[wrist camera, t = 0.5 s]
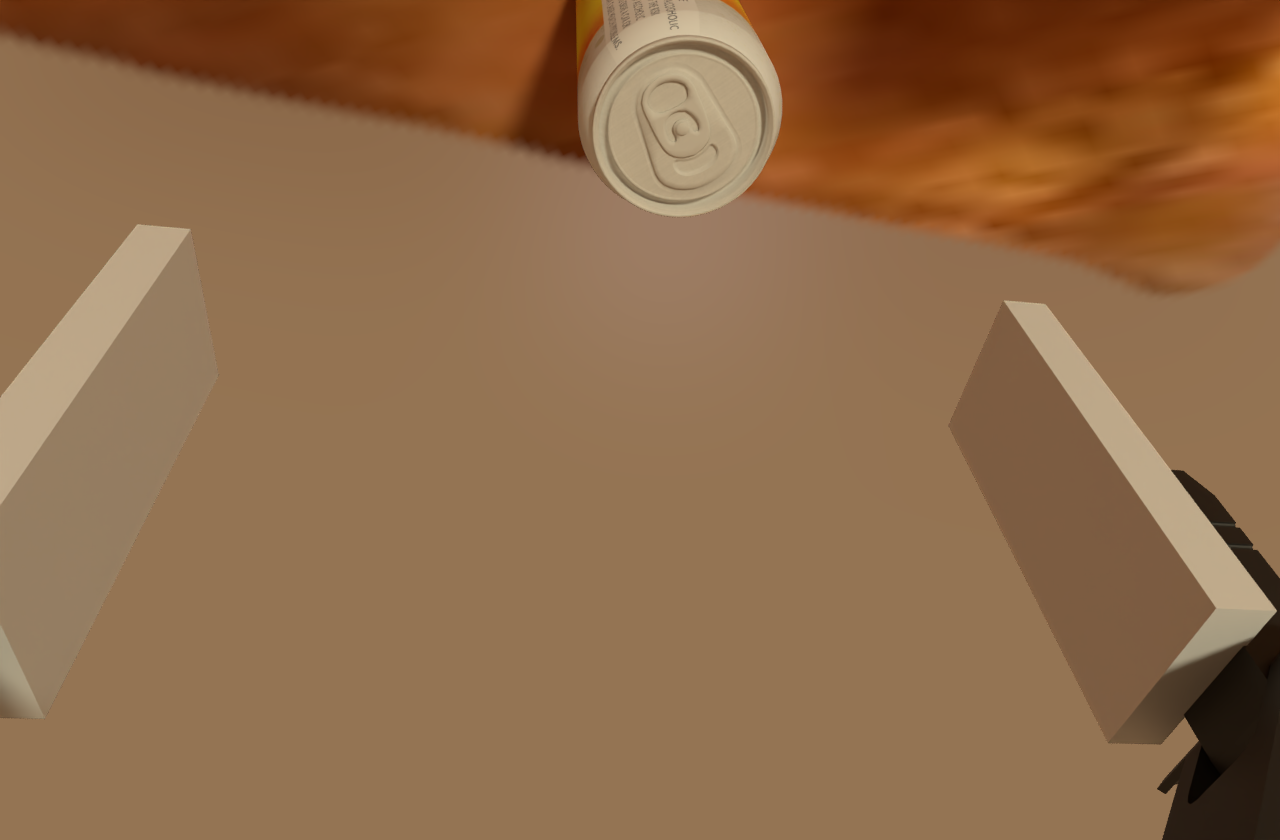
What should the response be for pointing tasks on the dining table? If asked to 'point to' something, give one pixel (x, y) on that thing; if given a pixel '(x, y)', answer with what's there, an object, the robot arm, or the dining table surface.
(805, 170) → the dining table surface
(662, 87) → the beer can
